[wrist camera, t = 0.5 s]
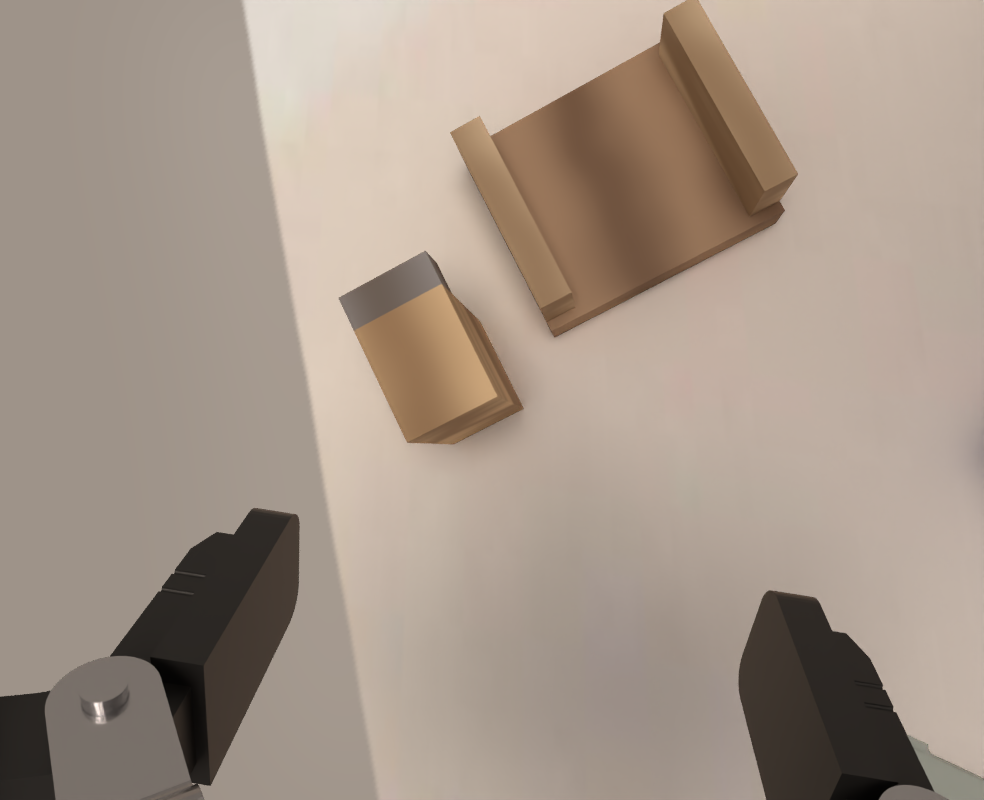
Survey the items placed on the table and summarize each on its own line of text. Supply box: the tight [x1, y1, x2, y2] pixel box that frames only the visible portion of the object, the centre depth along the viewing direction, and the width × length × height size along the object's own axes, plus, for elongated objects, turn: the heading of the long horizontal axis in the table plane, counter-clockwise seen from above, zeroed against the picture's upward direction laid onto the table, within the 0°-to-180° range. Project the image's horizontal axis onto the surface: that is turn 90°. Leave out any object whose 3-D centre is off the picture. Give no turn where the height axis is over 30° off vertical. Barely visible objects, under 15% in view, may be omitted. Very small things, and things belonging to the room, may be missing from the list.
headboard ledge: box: [450, 0, 798, 337], centre depth 36 cm, size 12×10×6 cm
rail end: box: [339, 251, 523, 444], centre depth 35 cm, size 4×6×9 cm, turn 27°
